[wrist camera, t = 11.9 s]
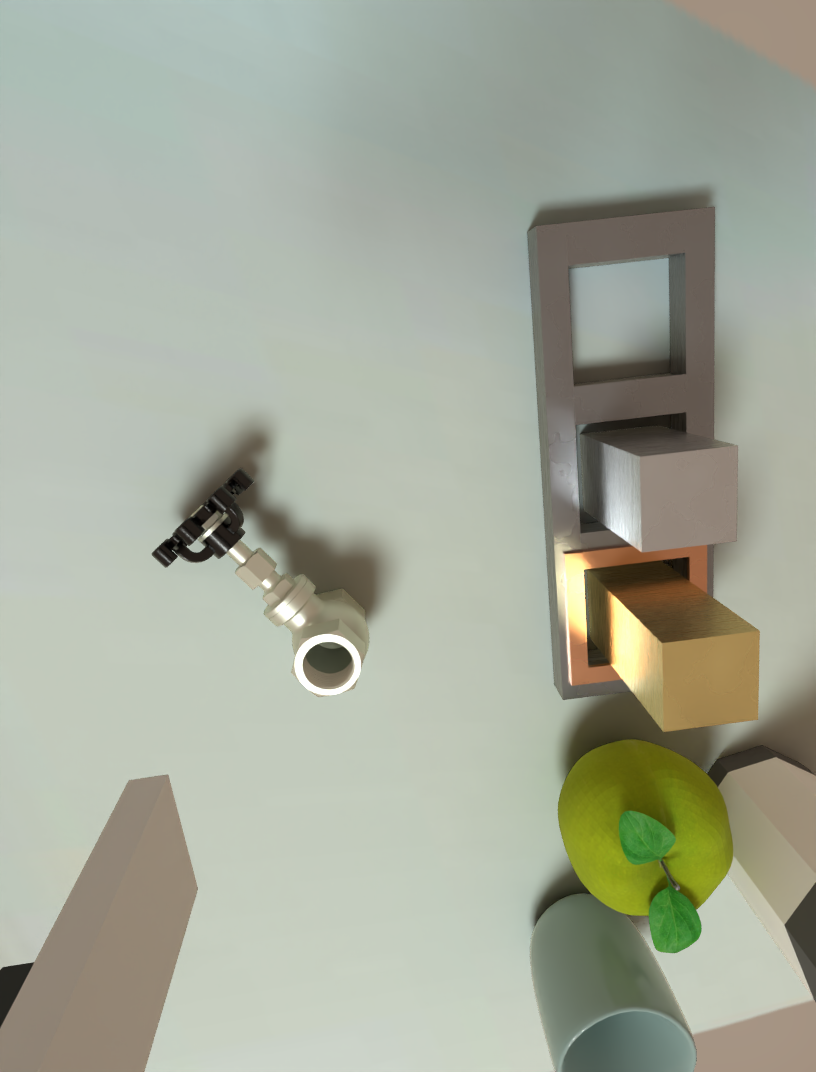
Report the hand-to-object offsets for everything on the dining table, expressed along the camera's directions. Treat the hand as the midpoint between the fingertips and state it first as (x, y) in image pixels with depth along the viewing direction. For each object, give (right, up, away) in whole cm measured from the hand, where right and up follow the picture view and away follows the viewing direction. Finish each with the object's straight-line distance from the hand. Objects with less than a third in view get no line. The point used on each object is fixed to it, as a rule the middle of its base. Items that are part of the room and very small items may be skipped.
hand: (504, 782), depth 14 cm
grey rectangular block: (+10, +9, +26) cm, 29 cm away
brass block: (+11, +1, +28) cm, 30 cm away
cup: (+10, -21, +34) cm, 42 cm away
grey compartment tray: (+10, +9, +26) cm, 29 cm away
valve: (-9, +3, +27) cm, 29 cm away
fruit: (+11, -11, +32) cm, 35 cm away
